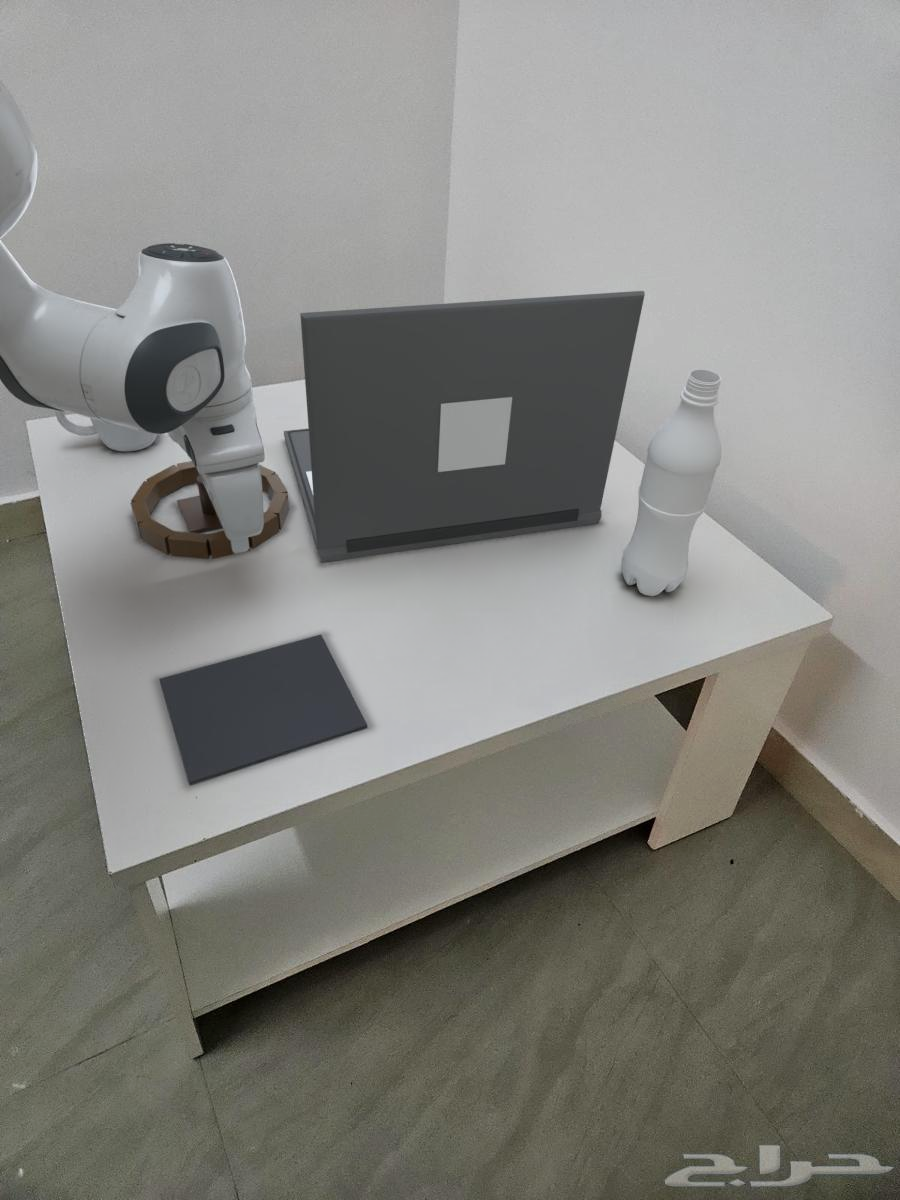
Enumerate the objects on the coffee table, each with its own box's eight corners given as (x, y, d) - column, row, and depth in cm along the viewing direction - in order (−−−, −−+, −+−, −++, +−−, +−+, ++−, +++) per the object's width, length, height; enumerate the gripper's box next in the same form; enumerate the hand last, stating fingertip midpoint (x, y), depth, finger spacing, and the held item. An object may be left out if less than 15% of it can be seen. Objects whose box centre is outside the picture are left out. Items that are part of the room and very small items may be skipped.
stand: (190, 535, 95) (182, 499, 92) (177, 504, 100) (170, 468, 96) (249, 522, 97) (244, 487, 94) (234, 492, 102) (229, 457, 99)
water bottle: (604, 577, 93) (650, 371, 76) (644, 554, 96) (696, 353, 80) (654, 611, 89) (714, 401, 72) (693, 585, 92) (759, 380, 76)
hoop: (151, 573, 89) (147, 555, 88) (125, 490, 101) (121, 473, 100) (306, 537, 96) (304, 521, 94) (264, 463, 107) (262, 447, 106)
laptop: (522, 416, 120) (546, 213, 102) (600, 523, 101) (647, 294, 82) (284, 441, 112) (264, 223, 93) (319, 563, 92) (302, 317, 74)
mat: (189, 785, 69) (189, 782, 69) (160, 681, 77) (159, 678, 77) (367, 727, 74) (367, 724, 74) (321, 636, 83) (321, 634, 83)
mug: (161, 420, 115) (147, 352, 108) (169, 451, 108) (155, 381, 102) (64, 432, 111) (44, 363, 104) (67, 466, 105) (45, 394, 98)
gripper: (158, 373, 88) (181, 482, 97) (200, 469, 74) (222, 585, 83) (217, 364, 90) (233, 472, 99) (269, 455, 76) (282, 570, 85)
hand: (229, 524), depth 91 cm, fingers open, 8 cm apart
